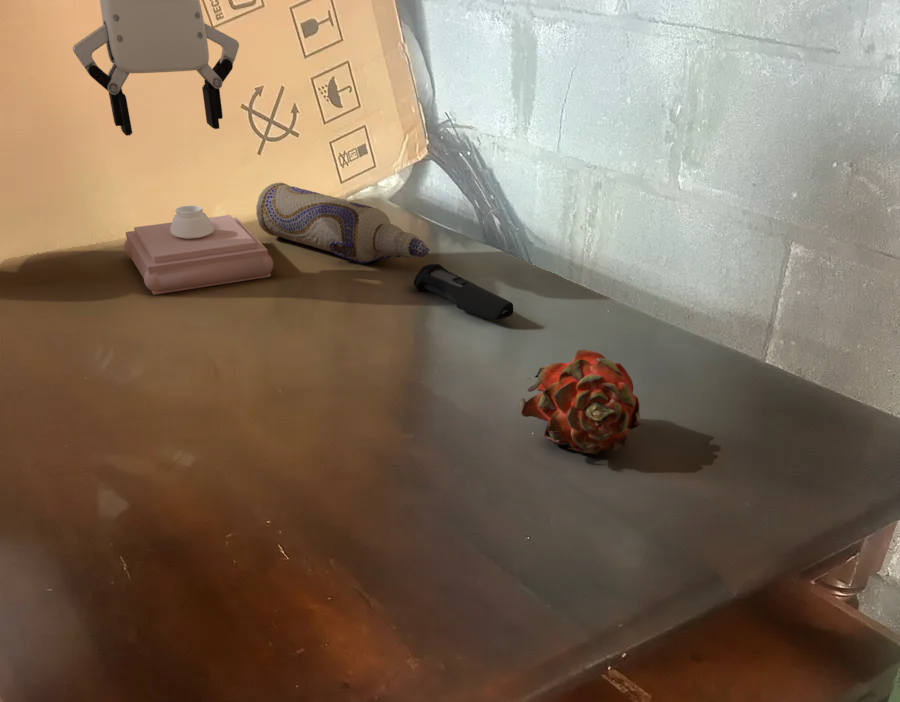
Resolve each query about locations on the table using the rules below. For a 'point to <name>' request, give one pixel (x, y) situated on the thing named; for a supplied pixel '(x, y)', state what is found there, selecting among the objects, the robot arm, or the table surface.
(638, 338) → the table surface
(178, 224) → the white jar
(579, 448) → the dragon fruit
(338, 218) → the decorative bottle
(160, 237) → the decorative box
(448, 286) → the electric trimmer
